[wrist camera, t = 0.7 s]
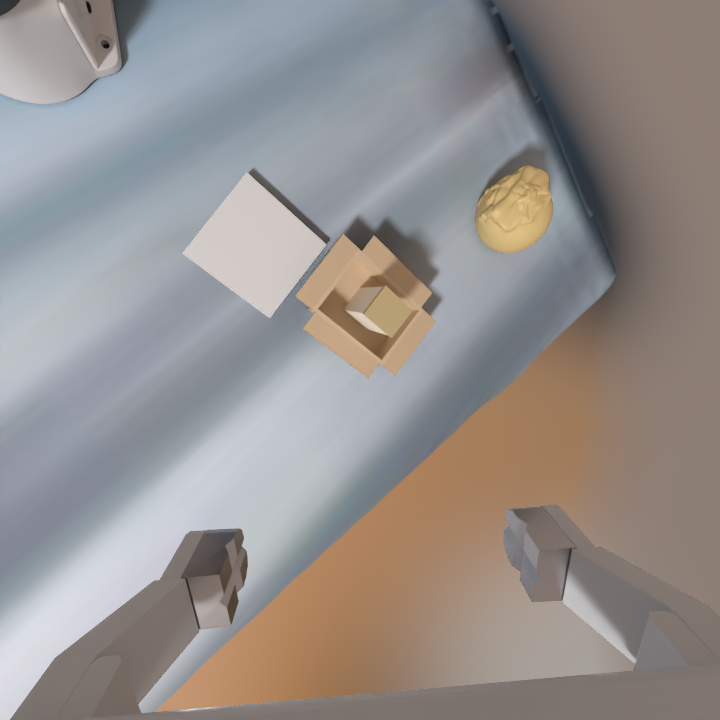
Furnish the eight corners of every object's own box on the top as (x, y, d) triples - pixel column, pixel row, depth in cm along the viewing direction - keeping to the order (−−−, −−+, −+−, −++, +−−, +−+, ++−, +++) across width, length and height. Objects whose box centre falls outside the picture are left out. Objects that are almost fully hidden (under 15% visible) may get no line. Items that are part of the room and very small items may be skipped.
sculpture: (492, 169, 58) (543, 143, 48) (529, 221, 62) (583, 207, 52) (452, 220, 57) (496, 204, 47) (492, 268, 62) (540, 263, 52)
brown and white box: (365, 329, 55) (392, 337, 45) (341, 309, 54) (364, 313, 43) (382, 307, 56) (412, 310, 45) (359, 286, 54) (385, 285, 44)
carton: (374, 383, 58) (384, 390, 54) (279, 311, 51) (282, 313, 47) (432, 305, 59) (446, 306, 55) (347, 223, 52) (356, 217, 48)
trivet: (269, 317, 51) (269, 318, 50) (183, 254, 46) (182, 253, 44) (324, 245, 51) (326, 244, 50) (246, 175, 46) (246, 172, 45)
